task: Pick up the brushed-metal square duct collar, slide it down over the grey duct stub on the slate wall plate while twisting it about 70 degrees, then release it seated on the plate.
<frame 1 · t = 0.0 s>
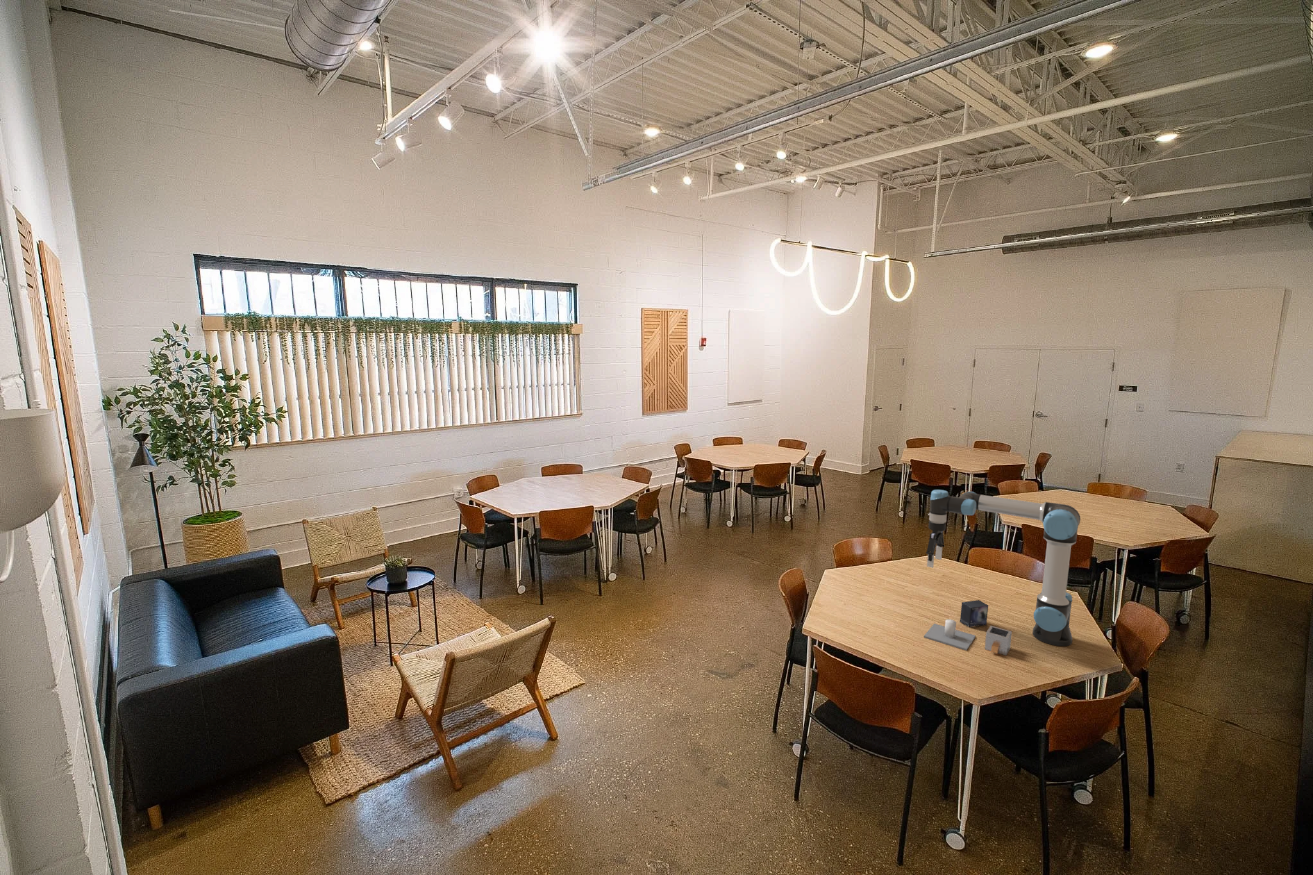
hand: (934, 562, 283), 28 cm above the table, fingers open, 13 cm apart
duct: (949, 637, 266), on the table
small box: (973, 624, 279), on the table
collar: (997, 648, 256), on the table
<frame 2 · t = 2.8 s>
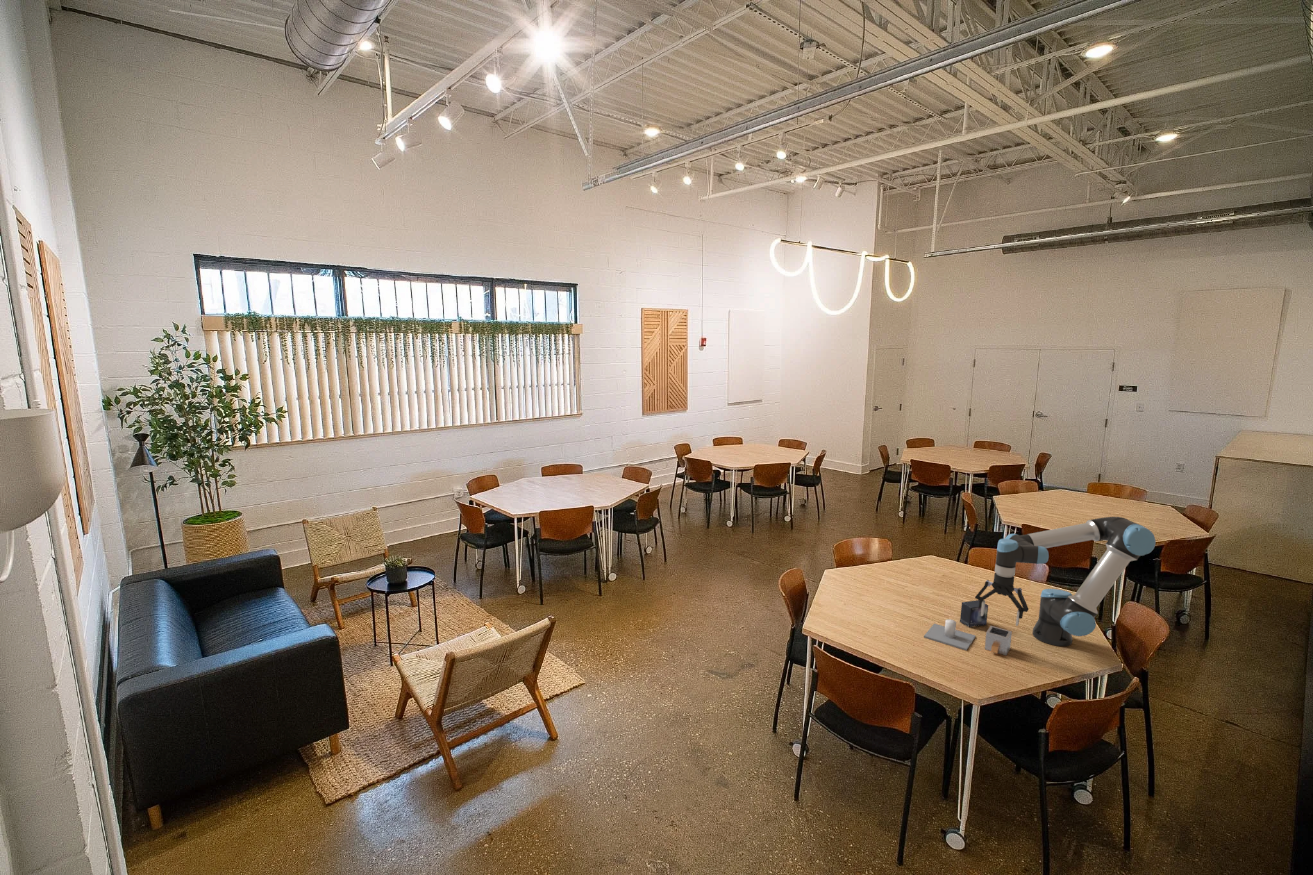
hand: (999, 619, 254), 14 cm above the table, fingers open, 13 cm apart
nothing on the table moved.
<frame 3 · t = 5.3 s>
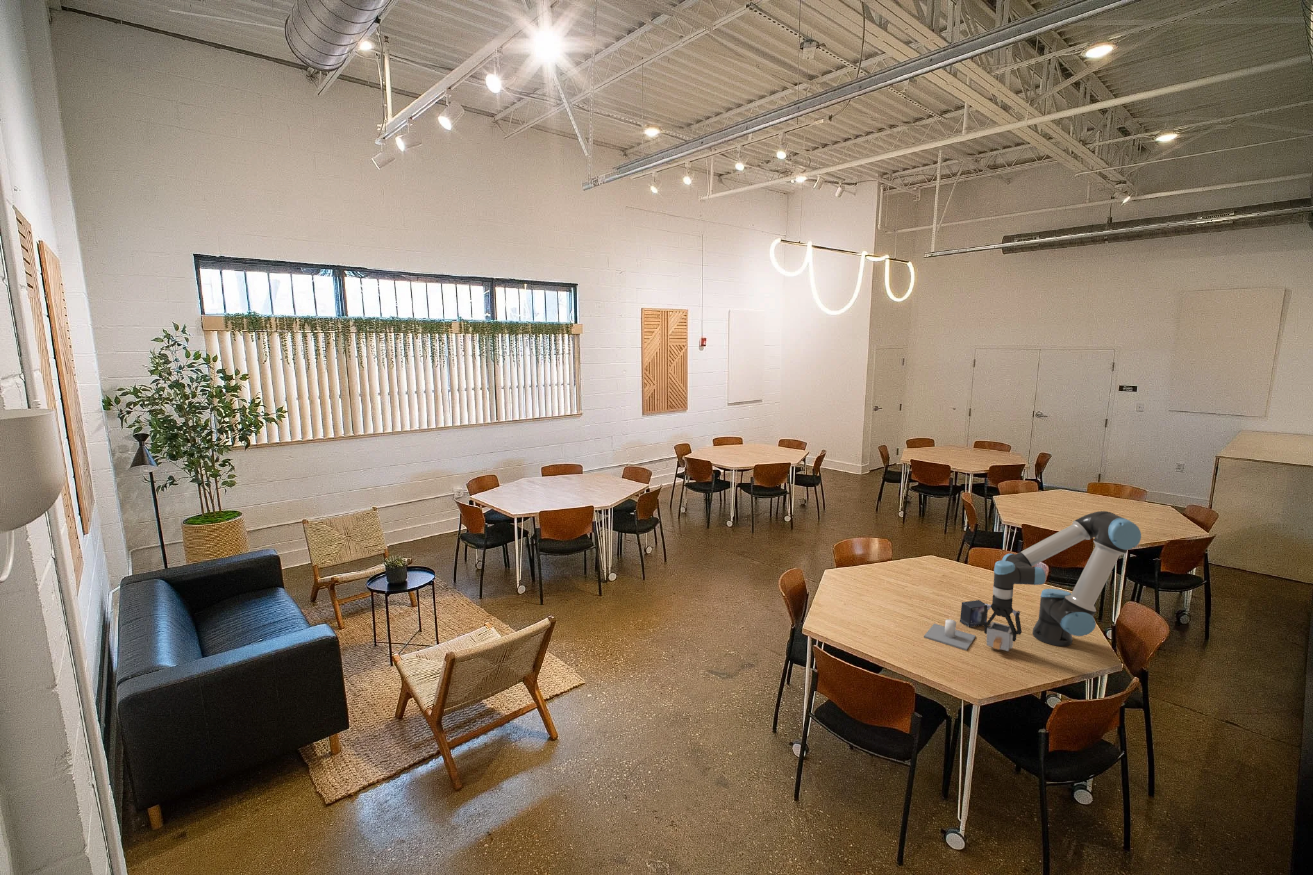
hand: (999, 643, 256), 2 cm above the table, fingers closed on collar, 8 cm apart
collar: (999, 644, 256), point 2 cm above the table, touching gripper
everything else where it was.
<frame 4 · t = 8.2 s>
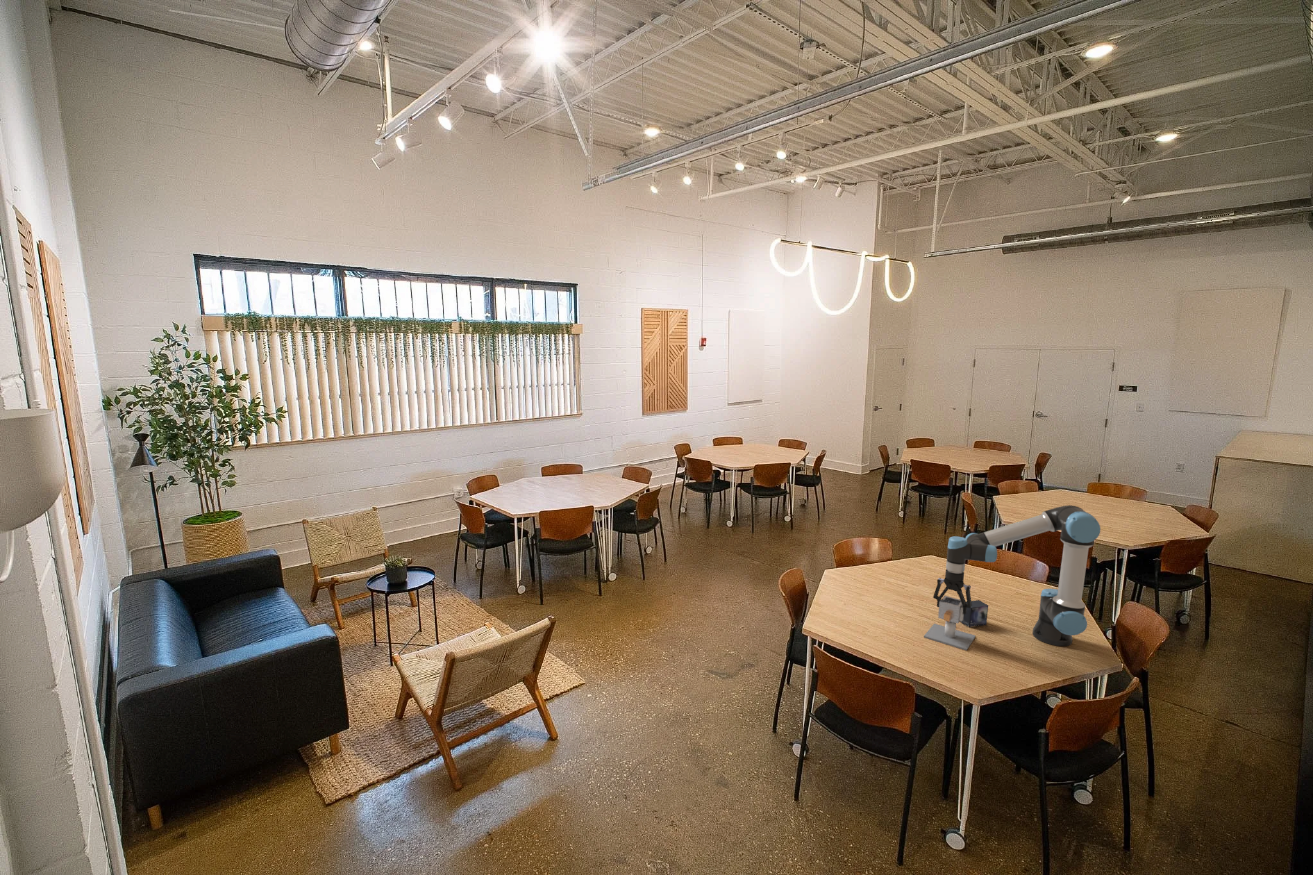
hand: (950, 616, 265), 10 cm above the table, fingers closed on collar, 8 cm apart
collar: (950, 617, 265), point 10 cm above the table, touching gripper
everything else where it was.
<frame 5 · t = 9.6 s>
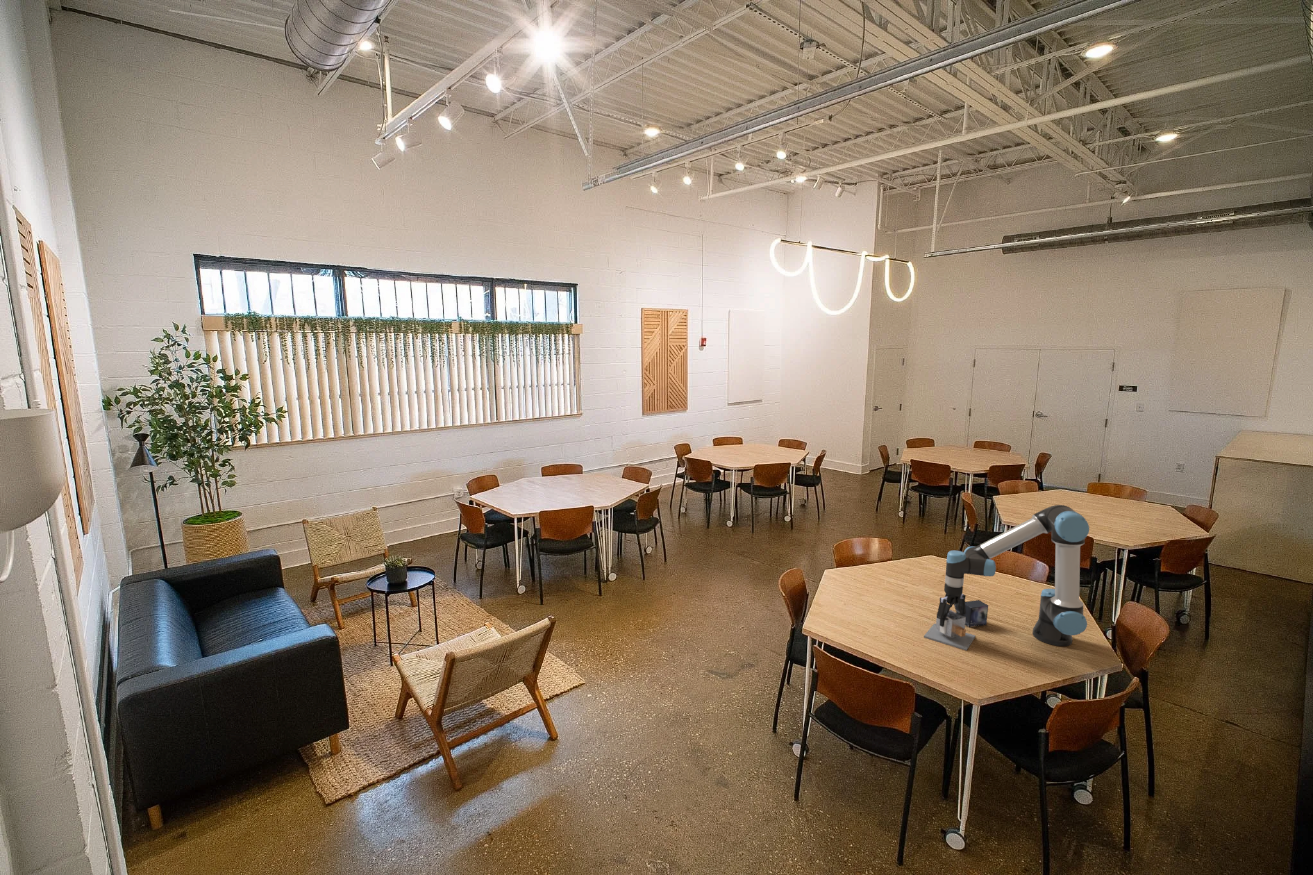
hand: (949, 630, 266), 3 cm above the table, fingers closed on collar, 8 cm apart
collar: (949, 631, 266), point 3 cm above the table, touching gripper
everything else where it was.
when the fingers open (2 cm above the table, at t = 11.0 s): collar drops 1 cm, resting on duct.
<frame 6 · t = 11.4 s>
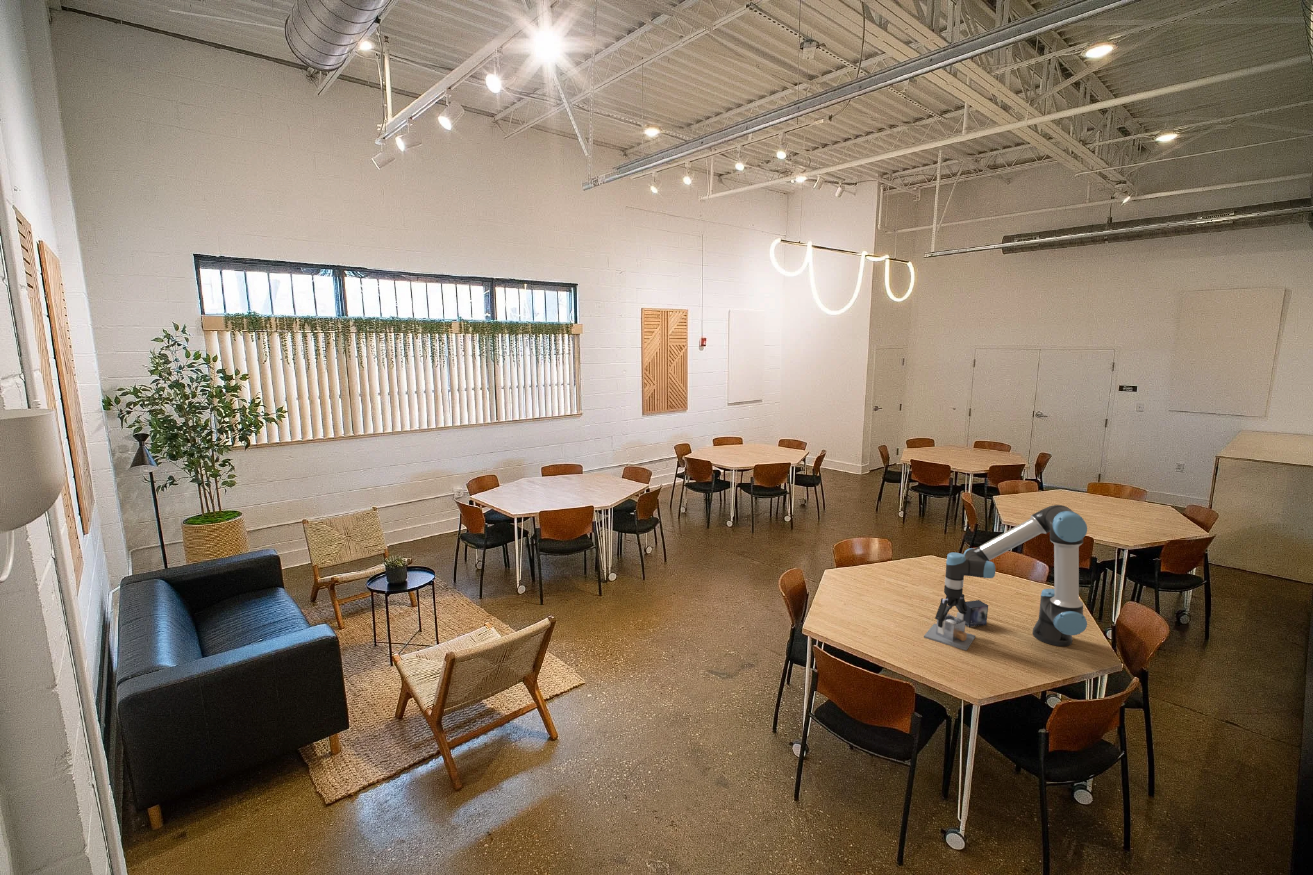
hand: (950, 629, 266), 4 cm above the table, fingers open, 13 cm apart
collar: (949, 635, 266), point 1 cm above the table, touching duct
everything else where it was.
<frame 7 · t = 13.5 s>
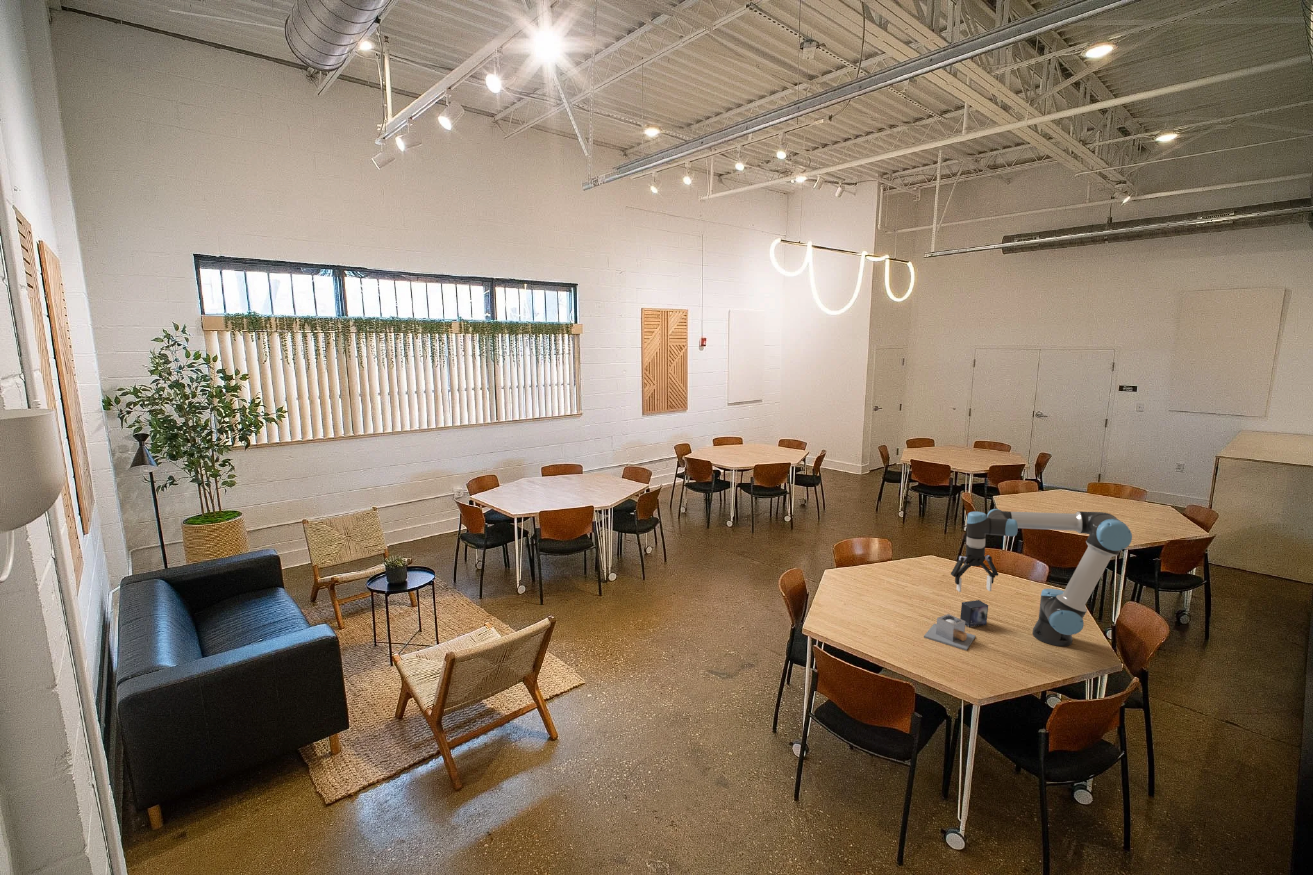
hand: (973, 590, 263), 23 cm above the table, fingers open, 13 cm apart
nothing on the table moved.
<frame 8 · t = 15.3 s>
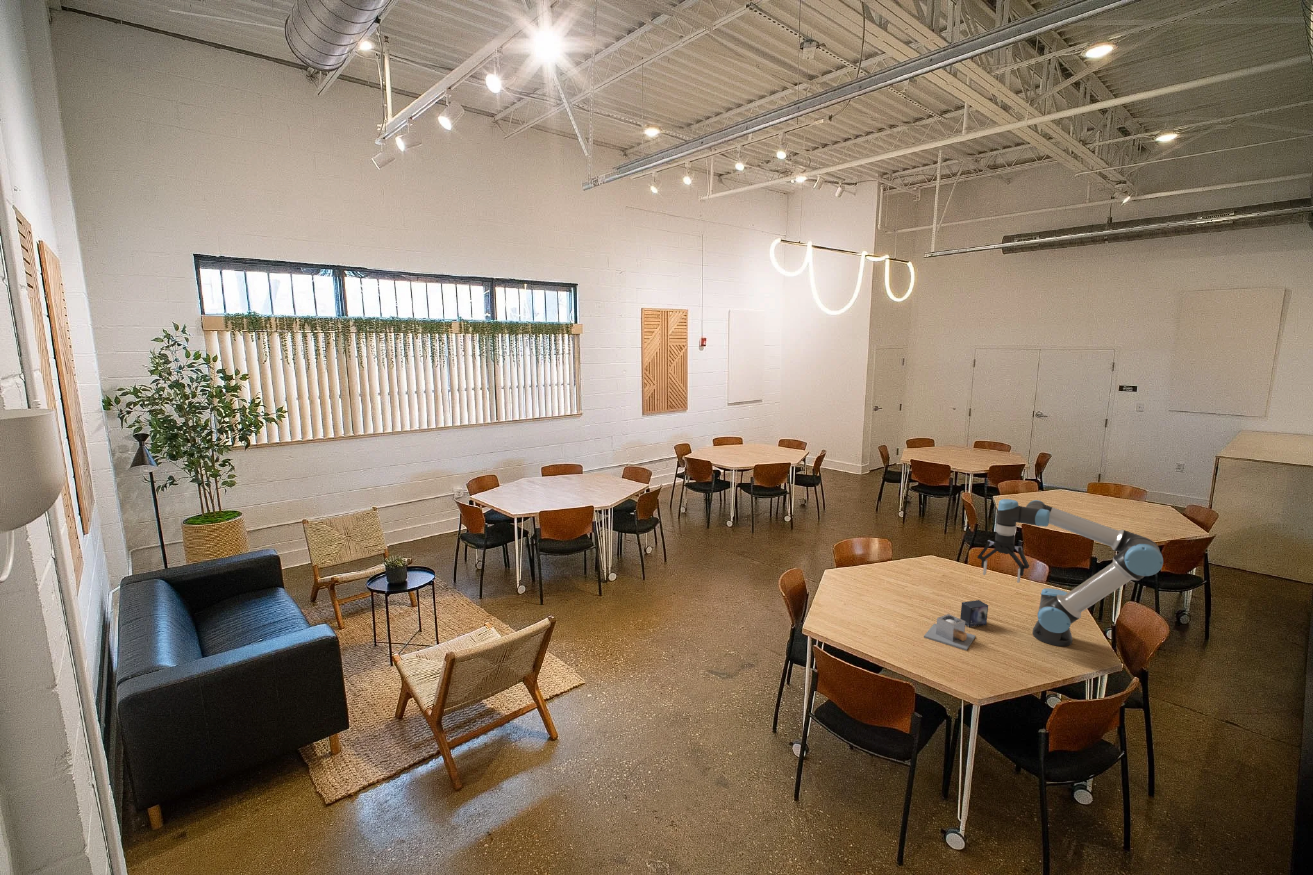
hand: (1001, 577, 262), 29 cm above the table, fingers open, 13 cm apart
nothing on the table moved.
at the end: collar 0.0 cm off-centre on the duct, point 0.8 cm above the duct's base; collar tilted 0°; the gripper is holding nothing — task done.
